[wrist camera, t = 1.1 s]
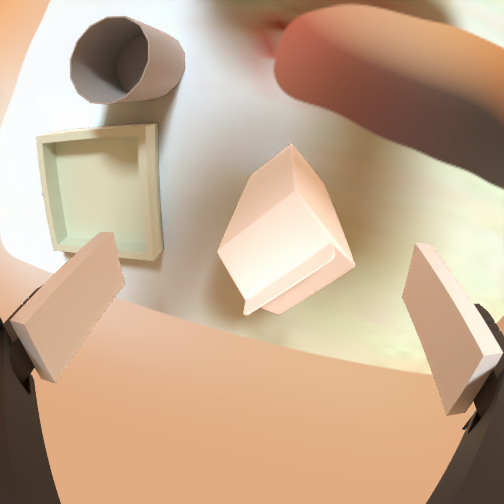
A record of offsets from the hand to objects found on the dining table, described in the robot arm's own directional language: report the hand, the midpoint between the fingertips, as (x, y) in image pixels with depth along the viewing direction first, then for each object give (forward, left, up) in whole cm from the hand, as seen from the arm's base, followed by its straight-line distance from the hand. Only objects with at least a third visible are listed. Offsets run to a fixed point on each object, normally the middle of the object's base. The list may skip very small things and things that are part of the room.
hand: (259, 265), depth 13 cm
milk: (+2, +1, -24) cm, 24 cm away
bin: (+4, -22, -24) cm, 33 cm away
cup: (-11, -15, -24) cm, 30 cm away
